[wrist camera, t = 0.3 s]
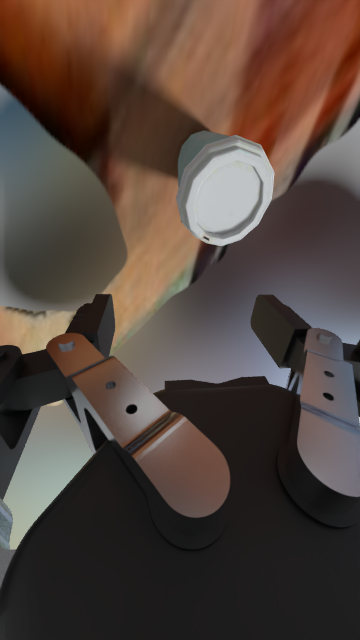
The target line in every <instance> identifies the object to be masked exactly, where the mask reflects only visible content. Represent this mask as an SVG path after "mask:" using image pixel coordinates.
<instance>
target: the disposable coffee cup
mask: <svg viewBox="0 0 360 640" xmlns="http://www.w3.org/2000/svg"><path fill="white" fill-rule="evenodd" d="M273 181H274V171H273V169H272V167H271V165H270V163H269V161H268V159H267V156H266V154H265V152H264V150H263V149H262V147H261V145H259V144H257V143H254V142H252V141H249V140H247V139H244V138H242V137H239V136H237V135H234V136H231V137H230V136H226V135H222V134H218V133H214V132H210V131H206V130H203V131H200V132H197V133H194V134H191V136H190V137H189V138H188V139H187V140H186V141H185V143H184V144H183V145H182V147H181V150H180V154H179V158H178V193H177V196H176V200H177V204H178V209H179V213H180V218H181V222H182V223H183V224H184V226H185V227H186V228H187V229H188V230H189V231H190V232H191V233H192V234H193V235H194V236H195V237H197V238H199V239H200V240H202V241H204V242H206V243H209V244H214V245H219V246H223V245H226V244H229V243H232V242H235V241H238V240H240V239H242V238H243V237H244V236H245V235H246V234H248V233H249V232H250V231H251V230H252V229H253V228H254V227H255V226H256V225H258V224H259V222H260V220H261V218H262V216H263V214H264V212H265V210H266V209H267V207H268V205H269V203H270V201H271V200H272V191H273Z"/></svg>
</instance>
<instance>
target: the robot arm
mask: <svg viewBox="0 0 360 640" xmlns="http://www.w3.org/2000/svg"><path fill="white" fill-rule="evenodd" d="M251 327H252V329H253V331H254V332H255V334H256V335H257V337H258V338H259V339H260V341H261V343H262V344H263V345H264V347H265V348H266V350H267V351H268V353H269V354H270V355H271V357H272V358H273V360H274V361H275V363H276V364H277V365H278V367H279V368H291V371H290V373H289V376H288V380H287V385H286V389H285V388H282V387H280V386H276V385H272V384H269V383H268V381H267V379H266V377H265V376H258V377H241V378H238V379H234V380H230V381H227V382H223V383H219V384H215V383H208V382H202V381H195V380H177V381H165V389H164V390H160V391H158V392H155V393H151V392H150V391H149V390H148V389H147V388H146V387H145V386H144V385H143V384H142V383H141V382H140V381H139V380H138V379H137V378H136V377H135V376H134V375H133V374H132V373H131V372H130V371H129V370H128V369H127V368H126V367H125V366H124V365H123V364H122V363H121V362H120V361H119V360H118V359H117V358H116V357H114V356H109V354H110V349H111V345H112V341H113V336H114V332H115V317H114V308H113V300H112V295H111V294H96V295H95V298H94V300H93V302H92V303H86V304H84V305H83V306H81V307H80V308H79V309H78V311H77V312H76V315H75V316H74V318H73V320H72V321H71V323H70V325H69V327H68V329H67V330H66V332H65V334H62V335H59V336H57V337H55V338H53V339H52V340H50V341H49V342H48V344H47V346H46V349H44V350H41V351H36V352H32V353H27V354H22V352H21V350H20V348H19V347H17V346H14V345H3V346H0V640H360V423H359V417H360V340H359V342H358V343H357V345H353V344H346V343H342V340H341V338H339V337H338V336H337V335H336V334H334V333H332V332H330V331H328V330H325V329H320V328H312V327H311V326H310V325H309V324H308V323H306V322H305V321H304V320H303V319H302V318H301V317H299V315H297V314H296V313H295V312H294V311H293V310H292V309H291V308H290V307H288V306H286V305H284V304H282V303H281V302H280V301H279V300H278V299H277V298H276V297H275V296H274V295H258V296H257V298H256V301H255V305H254V309H253V313H252V317H251ZM60 400H63V401H64V402H65V404H66V405H67V407H68V409H69V410H70V412H71V414H72V415H73V417H74V419H75V420H76V422H77V423H78V425H79V426H80V428H81V430H82V432H83V434H84V436H85V438H86V440H87V443H88V445H89V447H90V449H91V451H92V453H93V454H94V455H93V456H92V457H91V458H90V459H89V461H88V462H87V463H86V464H85V465H84V466H83V468H82V469H81V470H80V471H79V472H78V473H77V474H76V475H75V476H74V478H73V479H72V480H71V481H70V482H69V483H68V484H67V486H66V487H65V488H64V489H63V490H62V491H61V492H60V494H59V495H58V496H57V497H56V498H55V499H54V500H53V502H52V503H51V504H50V505H49V506H48V507H47V508H46V509H45V511H44V512H43V513H42V514H41V515H40V516H39V517H38V519H37V520H36V521H35V522H34V523H33V525H32V526H31V527H30V529H29V530H28V532H27V533H26V534H25V536H24V537H23V539H22V541H21V542H20V544H19V546H18V547H17V549H16V550H10V546H9V540H10V539H9V538H10V534H11V529H12V524H13V522H12V521H13V518H12V513H11V511H10V509H9V508H8V507H7V505H6V504H5V503H4V502H3V498H4V496H5V493H6V491H7V489H8V486H9V484H10V481H11V479H12V476H13V474H14V471H15V469H16V466H17V464H18V461H19V459H20V457H21V454H22V451H23V449H24V447H25V444H26V442H27V439H28V437H29V434H30V432H31V429H32V427H33V425H34V422H35V420H36V417H37V415H38V412H39V410H40V407H41V406H43V405H47V404H50V403H53V402H56V401H60Z"/></svg>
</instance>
